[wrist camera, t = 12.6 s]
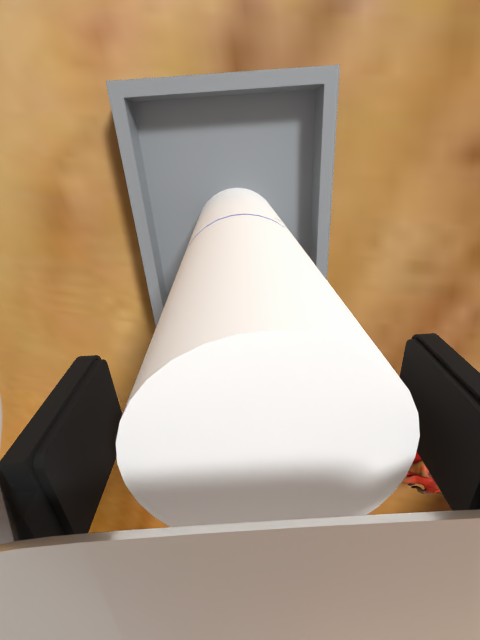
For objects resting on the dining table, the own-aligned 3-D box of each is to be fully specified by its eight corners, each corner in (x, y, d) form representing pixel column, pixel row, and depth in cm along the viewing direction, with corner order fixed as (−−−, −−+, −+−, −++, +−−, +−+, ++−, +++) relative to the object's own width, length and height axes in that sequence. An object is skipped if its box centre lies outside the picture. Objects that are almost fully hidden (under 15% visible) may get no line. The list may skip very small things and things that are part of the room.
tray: (326, 74, 26) (339, 64, 23) (314, 324, 36) (323, 340, 33) (120, 88, 26) (105, 81, 23) (166, 334, 36) (161, 352, 33)
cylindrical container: (213, 173, 28) (166, 276, 6) (290, 207, 29) (487, 391, 7) (187, 251, 31) (88, 518, 9) (257, 278, 32) (326, 564, 10)
